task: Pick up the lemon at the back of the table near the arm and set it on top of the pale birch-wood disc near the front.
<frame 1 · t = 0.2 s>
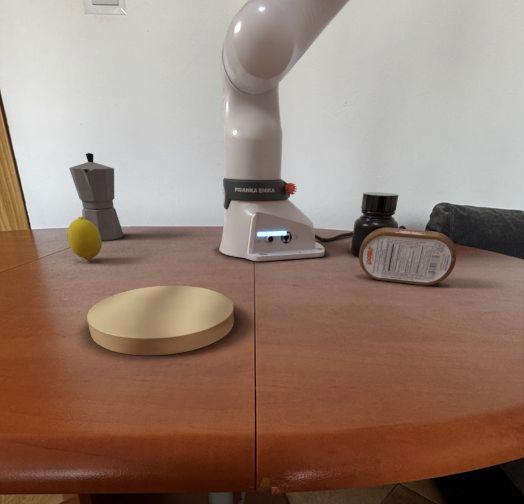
coffeepot: (104, 237, 92), on the table
tin: (400, 282, 64), on the table
birch disc: (164, 322, 46), on the table
ink bottle: (371, 255, 81), on the table
lemon: (89, 262, 71), on the table
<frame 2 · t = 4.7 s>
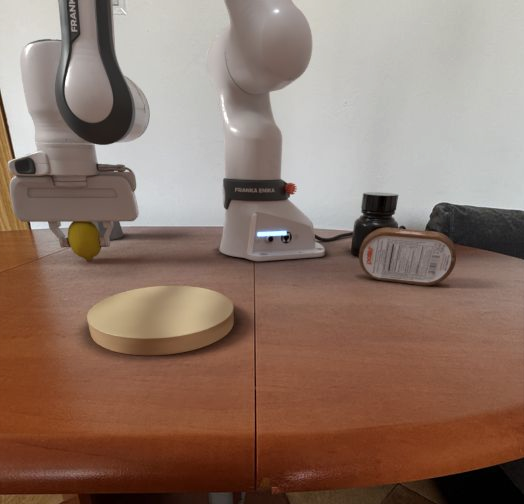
hand: (85, 246, 70), 3 cm above the table, tool pointing down, fingers closed on lemon, 5 cm apart
lemon: (89, 262, 71), on the table, touching gripper
everything else where it was.
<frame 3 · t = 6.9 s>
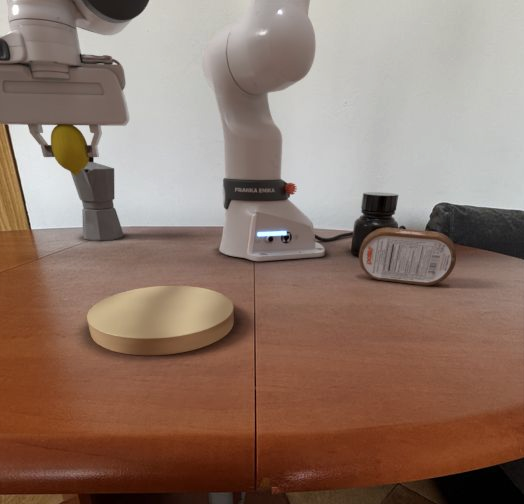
hand: (71, 157, 63), 18 cm above the table, tool pointing down, fingers closed on lemon, 5 cm apart
lemon: (76, 176, 64), point 15 cm above the table, touching gripper
everything else where it was.
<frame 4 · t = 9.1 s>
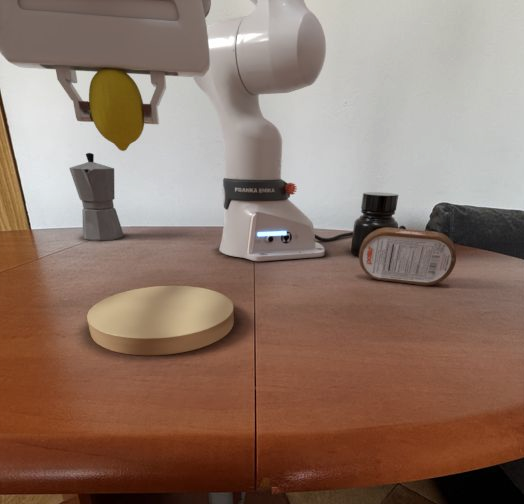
hand: (118, 122, 41), 21 cm above the table, tool pointing down, fingers closed on lemon, 5 cm apart
lemon: (123, 153, 42), point 18 cm above the table, touching gripper
everything else where it was.
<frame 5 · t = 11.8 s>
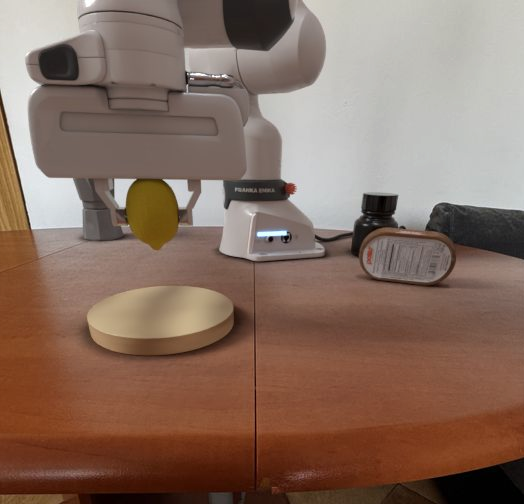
hand: (153, 225, 41), 12 cm above the table, tool pointing down, fingers closed on lemon, 5 cm apart
lemon: (157, 252, 42), point 9 cm above the table, touching gripper
everything else where it was.
when the fingers open (5 cm above the table, at t = 13.9 s): lemon stays where it is, resting on birch disc.
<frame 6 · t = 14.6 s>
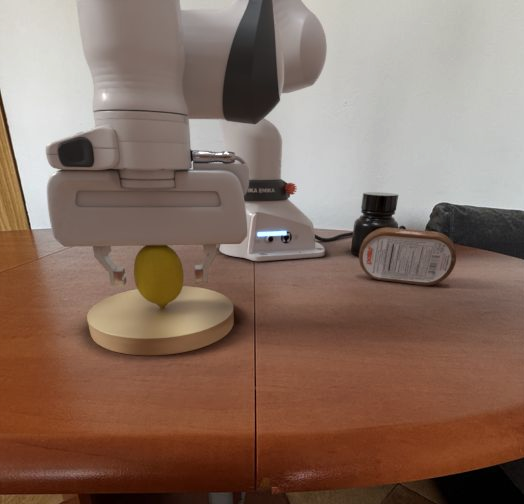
hand: (161, 283, 44), 5 cm above the table, tool pointing down, fingers open, 8 cm apart
birch disc: (164, 322, 46), on the table, touching lemon
lemon: (162, 309, 46), point 2 cm above the table, touching birch disc
everything else where it was.
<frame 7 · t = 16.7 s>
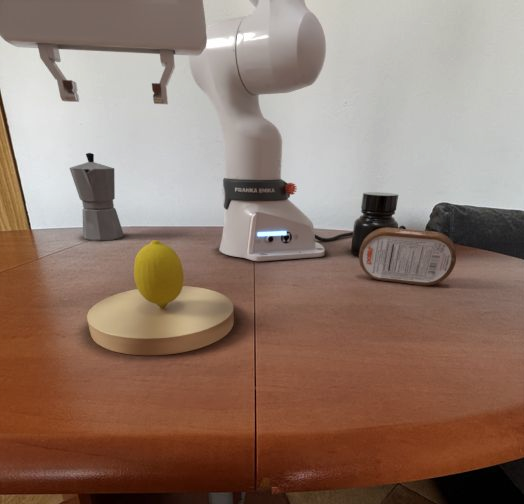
hand: (116, 102, 41), 23 cm above the table, tool pointing down, fingers open, 8 cm apart
nothing on the table moved.
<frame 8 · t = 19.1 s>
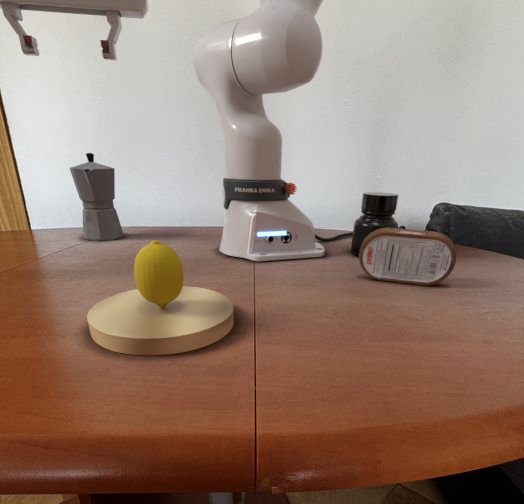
hand: (71, 57, 48), 29 cm above the table, tool pointing down, fingers open, 8 cm apart
nothing on the table moved.
at the end: lemon inside the target area on the birch disc (0.1 cm from its centre), point 1.8 cm above the birch disc's base; the gripper is holding nothing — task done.
